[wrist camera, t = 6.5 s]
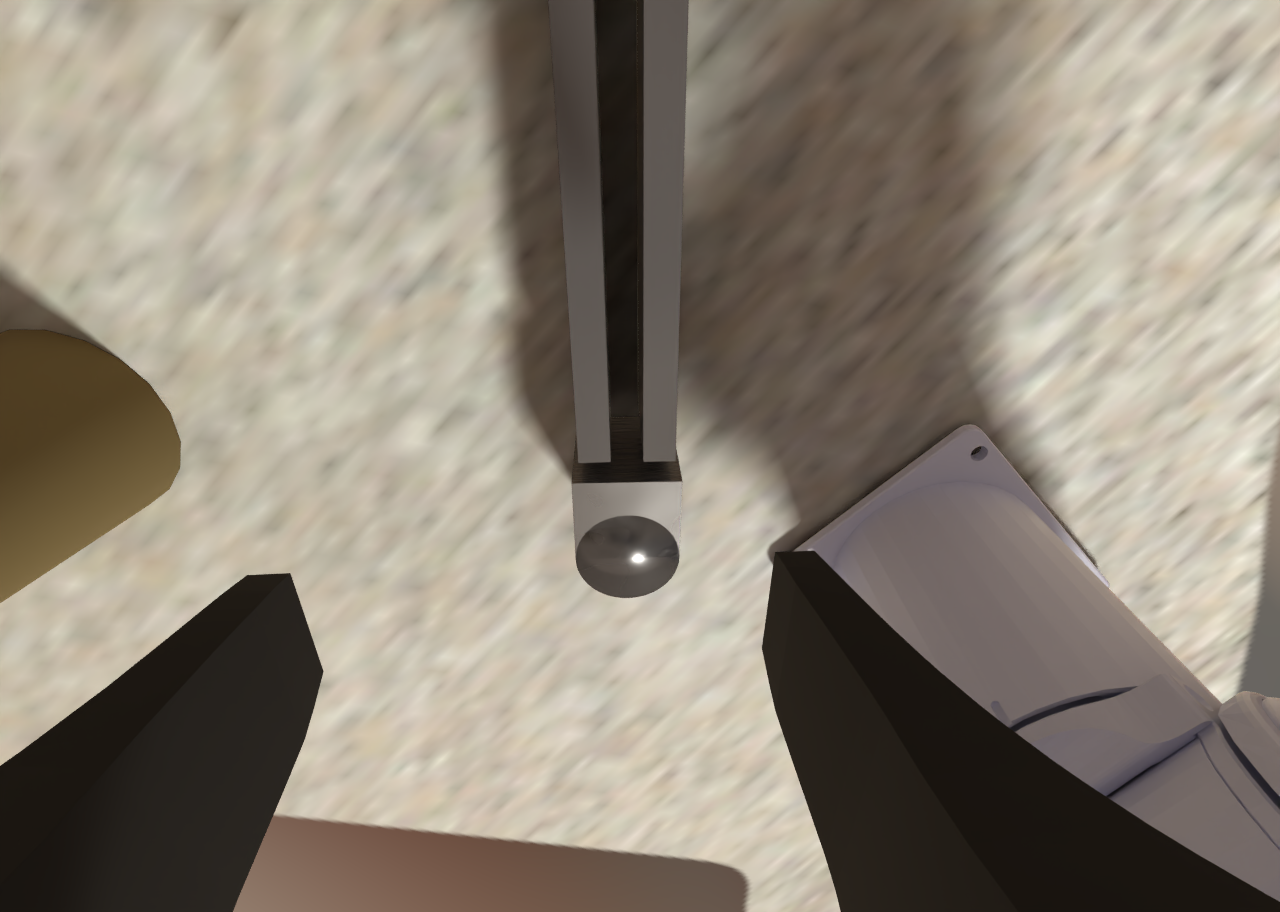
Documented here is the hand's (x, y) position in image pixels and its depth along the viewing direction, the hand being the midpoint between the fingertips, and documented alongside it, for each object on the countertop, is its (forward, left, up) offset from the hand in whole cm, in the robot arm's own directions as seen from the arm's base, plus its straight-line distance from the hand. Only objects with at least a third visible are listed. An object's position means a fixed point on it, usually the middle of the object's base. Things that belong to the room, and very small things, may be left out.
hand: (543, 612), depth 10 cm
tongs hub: (-4, +2, -10) cm, 11 cm away
